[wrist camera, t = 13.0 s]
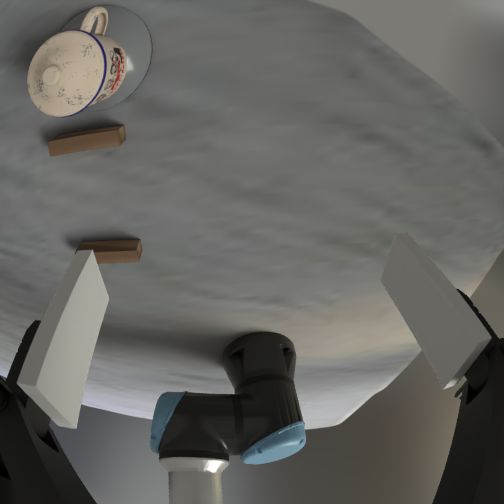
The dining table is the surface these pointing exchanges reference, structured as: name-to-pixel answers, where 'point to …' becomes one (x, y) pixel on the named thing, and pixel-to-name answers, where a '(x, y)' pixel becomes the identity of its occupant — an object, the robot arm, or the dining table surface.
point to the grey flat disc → (132, 41)
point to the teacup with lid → (76, 68)
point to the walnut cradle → (88, 141)
